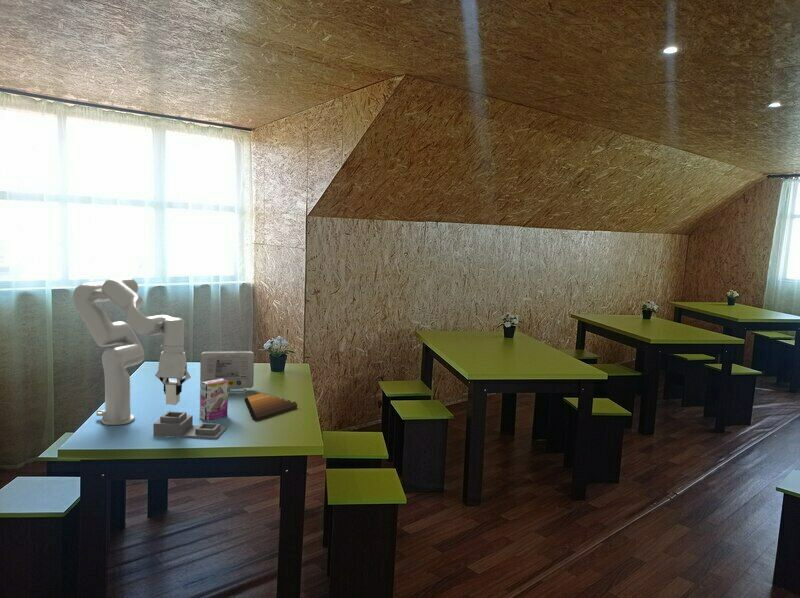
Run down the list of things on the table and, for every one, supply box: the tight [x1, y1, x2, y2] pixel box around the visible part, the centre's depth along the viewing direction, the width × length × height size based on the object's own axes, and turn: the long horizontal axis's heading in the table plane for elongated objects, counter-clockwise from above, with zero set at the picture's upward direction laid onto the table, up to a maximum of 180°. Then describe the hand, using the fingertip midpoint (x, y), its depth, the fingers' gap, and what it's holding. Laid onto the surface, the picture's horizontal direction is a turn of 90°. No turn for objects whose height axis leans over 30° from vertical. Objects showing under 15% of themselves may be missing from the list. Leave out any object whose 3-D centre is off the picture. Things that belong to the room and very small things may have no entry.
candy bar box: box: [199, 378, 229, 422], centre depth 254 cm, size 11×5×16 cm, turn 141°
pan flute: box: [244, 392, 298, 422], centre depth 270 cm, size 25×3×25 cm
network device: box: [199, 350, 255, 394], centre depth 295 cm, size 26×9×20 cm, turn 105°
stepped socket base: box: [152, 410, 227, 440], centre depth 236 cm, size 25×12×7 cm, turn 89°
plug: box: [165, 378, 181, 406], centre depth 235 cm, size 4×4×9 cm
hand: (172, 393), depth 235 cm, fingers closed on plug, 4 cm apart
